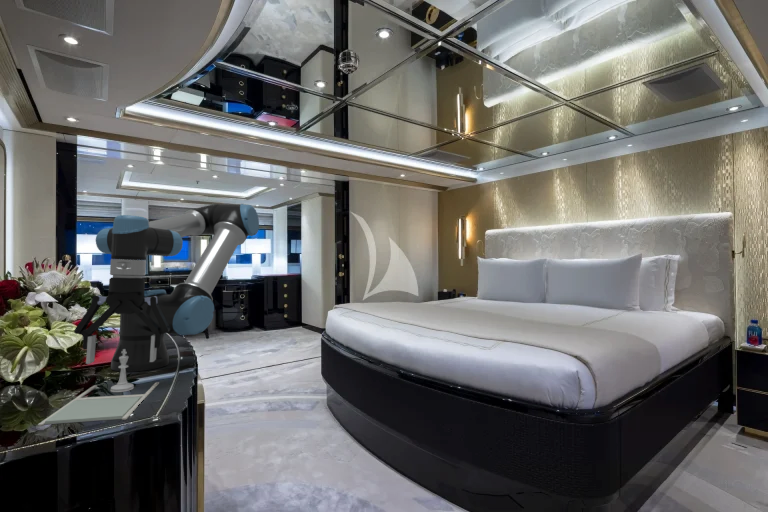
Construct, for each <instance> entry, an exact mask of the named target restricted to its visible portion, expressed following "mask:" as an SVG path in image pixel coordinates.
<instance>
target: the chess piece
mask: <svg viewBox="0 0 768 512" xmlns="http://www.w3.org/2000/svg"><path fill="white" fill-rule="evenodd" d="M121 353H123V356H121V357H119V360H120V363H121V366H119V367H118V368H121V371H119V372H120V373H119V380H118V382H116V384H113V385H111V387H110V392H111V393H123V392H124V393H125V392H129V391H133V389H134V388H135V385H134V384H133V383H130V382H129V381H127V372H126V369H125V368H127V367H128V365H126V363H127V360H128V358H129V357H128V356H125V354H127V352H126V349H123V351H122V352H121Z"/></svg>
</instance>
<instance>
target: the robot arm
mask: <svg viewBox="0 0 768 512" xmlns="http://www.w3.org/2000/svg"><path fill="white" fill-rule="evenodd" d="M114 217H115V218H114V219H113V223H112V224H113V225H112V227H110V228H109V227H108V228H103V229H101V230H100V231H99V232H97V234H96V236H95V245H96V248H97V249H98V250H99V251H100V252H101V253H103V254H106V255H107V254H108V255H110V256H111V257H110V258H111V259H110V264H109V267H110V268H109V274H110V276H112V277H110V278H109V280H108V281H109V282H108V295H107V296H104V295H101V294H97V295H94V296H92V300H91V304H90V306H89V307H88V309H87V310H86V312H85V314H84V315H83V317H82V318H81V320H80V321H79V323H78V324H77V326H76V327H75V329H74V330H73V332H74V334H76V335H77V334H78V335H81V336H82V338H83V339H82V349H83V350H86V360H85V364H86V365H90V364H92V363H94V362H95V359H96V358H95V357H96V356H95V355H96V342H97V334H94V333H96V331H97V330H98V329H99V328H101V326H102V325H103V324H104V323H106V321H107V320H108V319H109V318H110V317H112V316H113V315H114V314H116V315H119V340H118V341H119V342H118V344H117V346H116V348H115V351H114V354H113V355H112V358H111V360H110V361H111V363H110V369H111V370H113V371H115V372H121V368H118V367H119V366H121V363H120V360H119V357H121V356H123V353H121V352H122V351H123V349H126V352H127V354H125V356H128V357H129V358H128V360H127V363H126V365H128V367H127V368H125V369H126V373H127V372H144V371H150V370H155V369H160V368H163V367H166V366H168V365H169V363H170V356H169V352H168V349H167V345H166V342H165V338H164V336H165V334H171V335H173V334H175V335H180V336H187V335H198V334H200V333H202V332H204V331H205V330H206V329H208V327H209V326H210V324H211V323H212V321H213V318H214V312H215V305H214V301H213V300H214V299H213V296H212V293H213V291H214V289H215V287H216V286H217V284H218V282H219V280H220V278H221V276H222V275H223V273H224V271H225V269H226V268H227V266H228V264H229V262H230V261H231V258H232V257H233V255H234V253H235V252H236V249H237V247H238V246H240V245H243V244H245V242H246V240H247V238H248V237H249V236H251V237H253V236H256V235H257V234H258V233H259V228H260V221H259V219H260V218H259V215H258V212H257V210H256V209H255V207H254V206H253V205H252V204H244V203H240V204H235V203H234V204H233V203H232V204H229V203H228V204H222V203H221V204H219V203H216V204H215V203H214V204H209V205H205V206H200V207H197V208H193V209H189V210H186V211H185V212H183V214H178V215H174V216H170V217H165V218H161V219H156V220H155V219H154V220H151V221H149V219H148V218H146V217H143V216H139V215H138V216H137V215H129V214H120V215H117V216H114ZM202 235H206V236H207V235H210V236H211V235H213V236H212V238H211V240H210V241H209V242H208V244H207V246H206V247H205V249H204V250H203V253H201V256H200V257H199V259H198V260H197V262H196V264H195V265H194V266H193V268H192V270H191V271H190V273H189V275H188V277H187V278H186V280H185V281H184V282H180V283H178V284H176V285H175V287H174V289H173V290H172V292H171V293H170V294H167V291H166V289H151V290H150V289H149V290H145V286H146V285H145V283H146V279H145V278H144V276H146V271H147V269H146V268H147V266H146V265H147V256H153V257H154V256H158V257H174V256H177V255H178V254H179V253H180V252H181V250H182V248H183V244H184V243H183V242H184V241H183V240H184V239H183V238H185V237H188V236H191V237H192V236H193V237H197V236H202ZM104 303H106V304H107V305H108V306H109V307H108V308H107V309H105V311H104V312H103V313H102V314H101V315H100V316H99V317H98V318H97V319H96V320H95V321H94V322H93V323H92V324H90V323H91V321H92V320H93V318H94V316H95V315H96V313H97V312H98V311H99V309H100V307H101V305H104ZM89 324H90V326H89Z"/></svg>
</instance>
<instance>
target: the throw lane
mask: <svg viewBox="0 0 768 512" xmlns="http://www.w3.org/2000/svg"><path fill="white" fill-rule="evenodd" d="M159 384H160V382H157V381H156V382H155V383H153V384H152V385H151V387H149V389H148V390H147V391H146V392H145V393H143V394H142V393H140V394H126V395H107V396H106V395H105V396H91V397H90V396H89V397H85V396H86V395H87V394H89V393H90V392H92V391H93V390H95V389H96V388H97V387H98V385H97V384H95V385H92V386H91V387H89V388H88V389H86V390H85V391H84V392H82V393H81V394H79V395H77V396H76V397H75V398H74V399H72V400H70V401H69V402H68V403H67V404H64V405H63V406H61V408H59V409H58V410H56V411H55V412H53V413H52V414H51V415H49V416H48V417H46V418H45V419H43V420H42V421H41V422H39V423H38V424H37V426H38V427H40V426H41V427H43V426H45V425H53V424H54V425H55V424H56V425H57V424H66V423H67V424H69V423H70V424H71V423H81V422H82V423H84V422H93V421H94V422H95V421H112V420H122V421H123V420H127V419H128V418H129V417H130V416H131V414H133V413H134V412H133V411H136V409H138V407H139V406H140V405H141V404H142V403H143V402H144V401H145V400H146V399H147V397H148V396H149V395H150V394H151V393H152V392H153V391H154V390H155V389H156V387H157V386H158V385H159ZM143 400H144V401H143ZM142 401H143V402H142ZM141 402H142V403H141ZM139 404H140V405H139ZM138 405H139V406H138Z"/></svg>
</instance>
